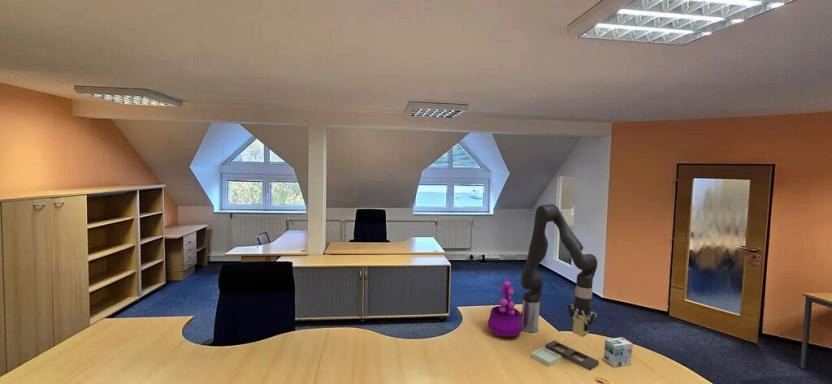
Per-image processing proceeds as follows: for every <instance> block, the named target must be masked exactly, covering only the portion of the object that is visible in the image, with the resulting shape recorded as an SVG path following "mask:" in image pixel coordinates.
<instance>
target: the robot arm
mask: <svg viewBox="0 0 832 384" xmlns="http://www.w3.org/2000/svg"><path fill="white" fill-rule="evenodd" d="M549 222H551V223H554V225H555V226H556V227H557V229H558V233H559V238H560V240H561V243H562V244H563V245H564V248H566V250H567V252H569V255H570V257H571V259H572V262H573V264H574V265H575V267H576V268H577V269H579V270H580V272H579V273H578V274H577V275H576V284H575V285H576V286H575V288H574V289H575V290H574V304H573V303H569V304H567V308H568V316H569V317H570V318H572V323H573V322H574V317H577V316H579V315H581V316H583V318H584V320H585V332H587V331H588V332H589V331H590V327H591V325H594V324H595V321H596V319H597V317H598V313H597V312H594V311H592V302H593V301H592V300H593V282H594V277H595V275H596V272H597V268H598V260H597V257H596V256H595V255H594V254H592V253H586V254H584V253H583V252H582V251H583V250H584V246H583V244H582V242H581V241H580V240H579V239H578V237H576V235H575V234H574V232H573V231H572V229H571V228H570V226H569V224H568V223H567V221H566V219H565V217H564V215H563V214H562V211H561V210H560V208H559V207H558V206H557V205H556V204H554V203H549V204H548V203H547V204H541V205H539V206H537V208H536V210H535V214H534V224H533V230H532V236H531V240H530V242H529V243H530V244H529V248H528V254H527V257H526V261H525V264H524V267H523V270H522V273H521V277H520V285H521V287H522V288H523V289H524V290H528V291H526V292H525V293H523V295H522V309H521V311H520V314H521V321H522V331H524V332H527V333H537V332H538V331H539V320H540V319H539V318H540V304H541V303H540V301H541V297H542V293H543V292H542V291H543V276H542V274H541V273H540V272H537V271H535V269H536V268H537V267H538V265H540V264H541V262H542V261H543V260H544V259H545V257H546V255H547V253H548V248H549V242H548V239H547V236H546V228H547V223H549Z"/></svg>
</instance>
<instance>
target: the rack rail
mask: <svg viewBox="0 0 832 384" xmlns="http://www.w3.org/2000/svg"><path fill="white" fill-rule="evenodd" d="M544 348H546V349H548V350H551V351H553V352H555V353H557V354H559V355H561V358H564V359H566V360H568V361H570V362H572V363H573V364H576V365H578V366H581V367H583V368H584V369H586V370H588V371H592V370H594V369H595V368H596V367H599V364H600V360H598V359H596V358H593V357H591V356H589V355H586V354H584V353H582V352H580V351H579V350H576V349H574V348H571V347H569V346H567V345H565V344H562V343H561V342H558V341H556V340H552V341H550V342H548V343H546V344H544ZM557 348H559V349H561V350H563V351H561V350H559V349H557ZM575 356H577V357H578V358H580V359H583V360H580V359H578V358H576V357H575Z"/></svg>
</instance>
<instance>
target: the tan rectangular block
mask: <svg viewBox="0 0 832 384" xmlns="http://www.w3.org/2000/svg"><path fill="white" fill-rule="evenodd" d="M572 334H575V335H577V336H579V337H581V338H583V337H585V336H588V335H589V330H588V331H587V332H585V320H584V318H583V316H581V315H579V316H577V317H574V322H573V321H572Z"/></svg>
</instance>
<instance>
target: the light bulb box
mask: <svg viewBox="0 0 832 384" xmlns="http://www.w3.org/2000/svg"><path fill="white" fill-rule="evenodd" d="M633 346H634V344H633V343H632V342H631V341H629V340H627V339H626V338H624V337H622V336H621V337H614V338H606V339H605V340H604V351H603V361H604V362H605V363H606V364H608V365H610V366H611V367H612V368H617V367H625V366H631V364H632V356H633V355H632V353H633Z"/></svg>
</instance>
